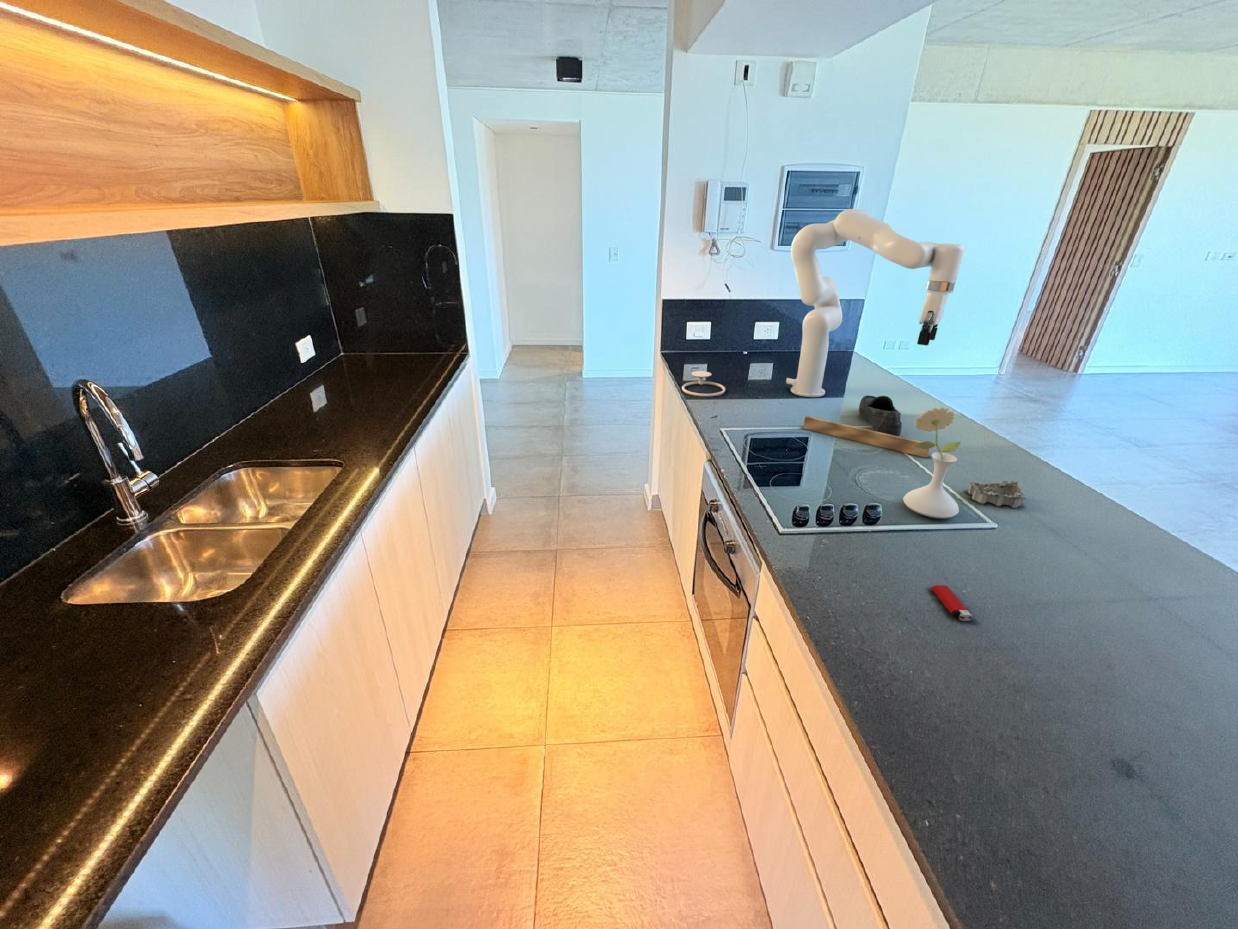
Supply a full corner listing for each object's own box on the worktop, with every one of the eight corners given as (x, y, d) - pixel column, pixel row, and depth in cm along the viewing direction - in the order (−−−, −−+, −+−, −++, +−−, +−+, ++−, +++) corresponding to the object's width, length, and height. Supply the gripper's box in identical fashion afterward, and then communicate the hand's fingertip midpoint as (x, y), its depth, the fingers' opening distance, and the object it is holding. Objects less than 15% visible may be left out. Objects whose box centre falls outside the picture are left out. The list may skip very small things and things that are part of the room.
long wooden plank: (803, 428, 170) (804, 416, 168) (804, 427, 171) (806, 415, 169) (926, 457, 150) (930, 444, 148) (927, 456, 151) (931, 443, 149)
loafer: (879, 410, 186) (885, 382, 181) (912, 442, 159) (920, 410, 155) (848, 409, 186) (854, 381, 182) (876, 441, 160) (884, 409, 156)
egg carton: (1014, 496, 130) (1020, 481, 128) (1024, 510, 123) (1030, 495, 122) (965, 488, 133) (970, 474, 131) (971, 502, 127) (977, 487, 125)
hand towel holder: (684, 386, 197) (679, 371, 215) (683, 397, 199) (678, 381, 217) (729, 385, 197) (720, 370, 215) (728, 397, 199) (720, 381, 217)
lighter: (948, 585, 96) (973, 615, 89) (947, 590, 97) (971, 621, 90) (933, 585, 97) (956, 615, 89) (931, 590, 97) (954, 620, 90)
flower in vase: (954, 504, 126) (985, 404, 115) (959, 527, 116) (994, 421, 106) (893, 493, 131) (918, 396, 120) (894, 515, 121) (920, 412, 111)
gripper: (932, 283, 172) (918, 336, 179) (920, 288, 159) (906, 345, 167) (958, 285, 167) (943, 339, 175) (948, 290, 155) (933, 348, 163)
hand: (925, 342), depth 171 cm, fingers open, 9 cm apart
